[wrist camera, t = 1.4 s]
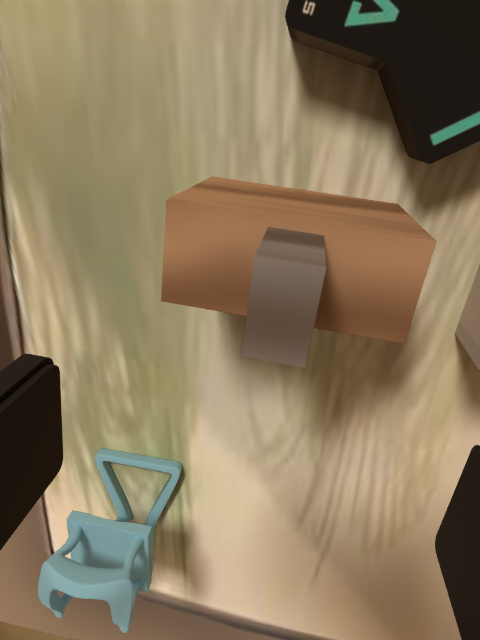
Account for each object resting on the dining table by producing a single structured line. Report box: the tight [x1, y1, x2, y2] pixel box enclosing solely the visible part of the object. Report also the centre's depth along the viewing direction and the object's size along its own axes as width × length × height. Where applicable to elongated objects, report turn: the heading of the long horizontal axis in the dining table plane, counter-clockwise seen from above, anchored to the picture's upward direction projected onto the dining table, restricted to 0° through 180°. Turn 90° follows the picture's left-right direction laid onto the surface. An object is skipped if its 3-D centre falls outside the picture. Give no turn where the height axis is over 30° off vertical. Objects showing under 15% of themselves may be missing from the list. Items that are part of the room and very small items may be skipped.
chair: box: [38, 448, 182, 633], centre depth 36 cm, size 8×8×12 cm
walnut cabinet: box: [161, 177, 436, 368], centre depth 23 cm, size 5×12×15 cm, turn 83°
